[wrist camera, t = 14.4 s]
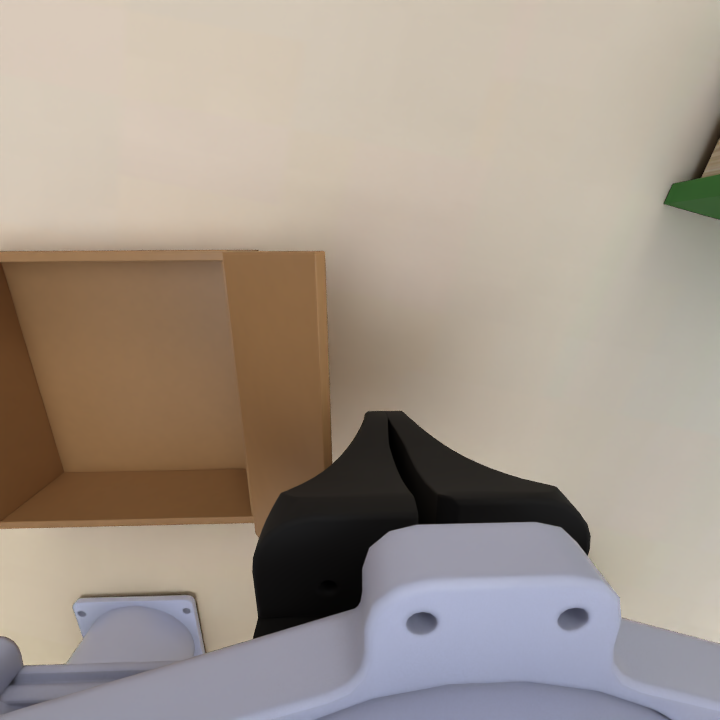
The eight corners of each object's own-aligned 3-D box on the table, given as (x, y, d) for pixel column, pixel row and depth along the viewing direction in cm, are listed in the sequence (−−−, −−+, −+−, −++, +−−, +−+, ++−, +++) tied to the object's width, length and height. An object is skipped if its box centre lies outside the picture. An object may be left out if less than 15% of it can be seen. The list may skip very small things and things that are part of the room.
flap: (222, 251, 13) (229, 251, 13) (255, 533, 17) (261, 530, 17) (314, 251, 8) (325, 250, 8) (331, 642, 12) (338, 635, 12)
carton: (258, 249, 18) (230, 249, 13) (278, 469, 21) (260, 523, 17) (-3, 251, 17) (-116, 252, 13) (64, 474, 21) (-6, 529, 17)
